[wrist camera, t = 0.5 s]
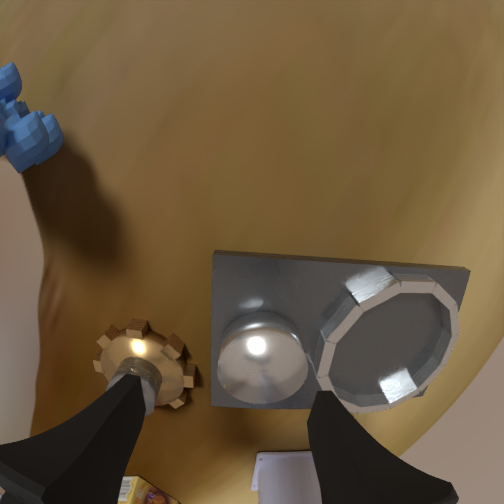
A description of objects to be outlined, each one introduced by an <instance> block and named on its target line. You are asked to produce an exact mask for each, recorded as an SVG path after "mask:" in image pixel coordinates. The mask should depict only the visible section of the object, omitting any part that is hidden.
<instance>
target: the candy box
mask: <svg viewBox="0 0 504 504" xmlns="http://www.w3.org/2000/svg"><path fill="white" fill-rule="evenodd" d="M118 504H178V501H177V500H175V499H173V498H172V497H170V496H168V495H167V494H165V493H163V492H162V491H160V490H159V489H157V488H155V487H154V486H152V485H151V484H149V483H148V482H146V481H145V480H143V479H142V478H140V477H139V476H123V480H122V485H121V489H120V494H119V499H118Z"/></svg>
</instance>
